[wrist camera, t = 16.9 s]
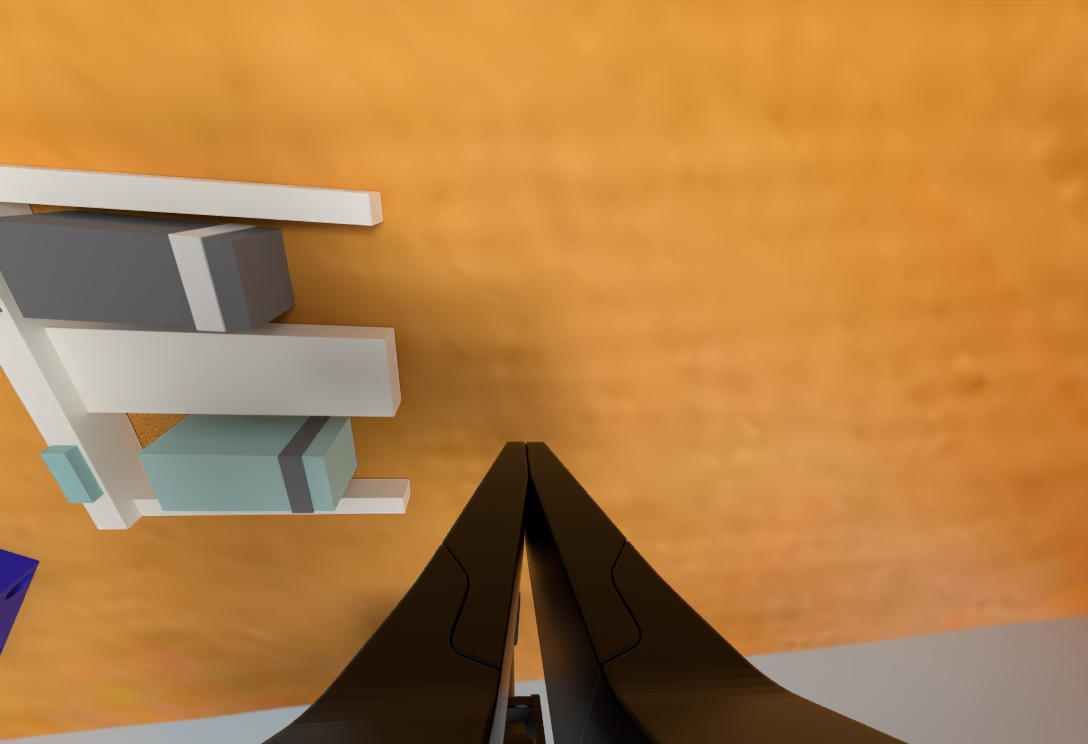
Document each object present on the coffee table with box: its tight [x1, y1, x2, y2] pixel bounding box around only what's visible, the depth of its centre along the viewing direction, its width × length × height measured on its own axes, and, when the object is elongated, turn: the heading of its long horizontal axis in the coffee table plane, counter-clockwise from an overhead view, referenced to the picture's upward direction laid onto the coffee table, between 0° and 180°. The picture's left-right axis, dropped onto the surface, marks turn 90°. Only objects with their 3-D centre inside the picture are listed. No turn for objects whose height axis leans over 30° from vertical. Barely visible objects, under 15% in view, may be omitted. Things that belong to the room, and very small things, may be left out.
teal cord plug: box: [137, 414, 357, 513], centre depth 21 cm, size 4×8×4 cm, turn 85°
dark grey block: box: [0, 211, 295, 332], centre depth 16 cm, size 4×8×4 cm, turn 84°
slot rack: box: [0, 164, 411, 529], centre depth 19 cm, size 17×15×3 cm
